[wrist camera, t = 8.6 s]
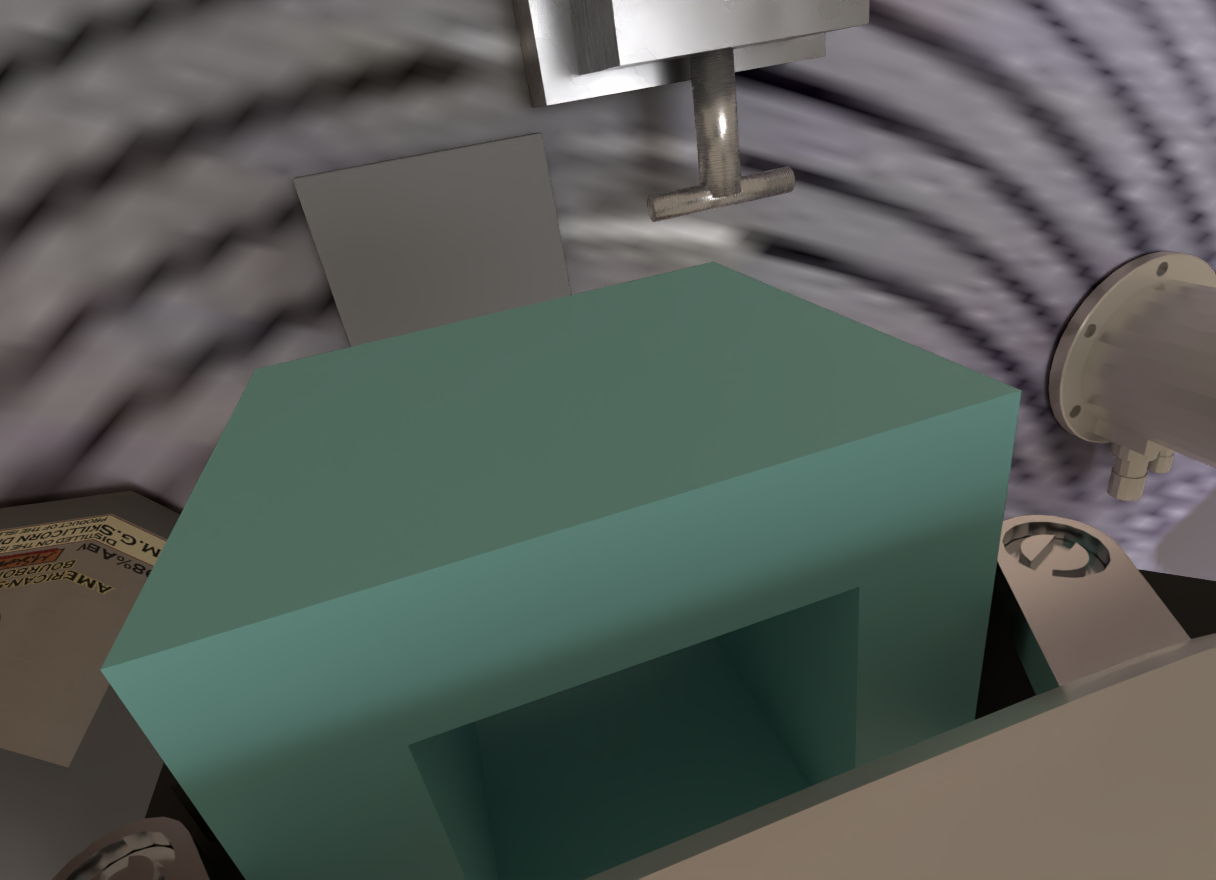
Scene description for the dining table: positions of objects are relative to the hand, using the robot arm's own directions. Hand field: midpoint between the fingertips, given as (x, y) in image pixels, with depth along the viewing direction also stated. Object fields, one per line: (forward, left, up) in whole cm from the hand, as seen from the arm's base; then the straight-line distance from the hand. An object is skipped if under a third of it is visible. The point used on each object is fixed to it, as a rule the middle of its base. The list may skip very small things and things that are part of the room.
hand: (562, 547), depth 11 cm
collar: (0, 0, -1) cm, 1 cm away
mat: (0, 0, -23) cm, 23 cm away
